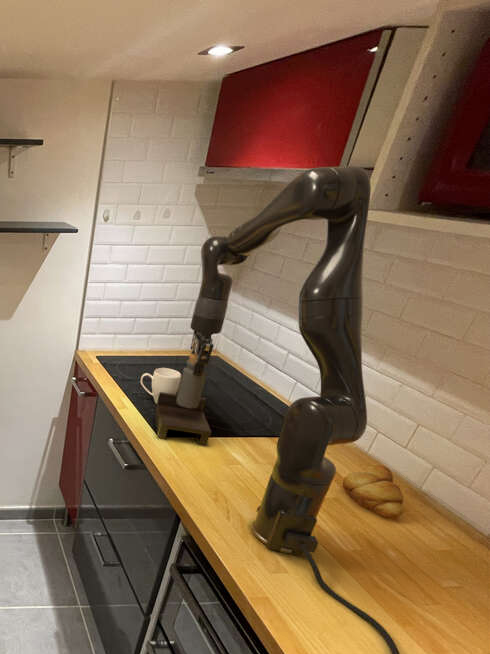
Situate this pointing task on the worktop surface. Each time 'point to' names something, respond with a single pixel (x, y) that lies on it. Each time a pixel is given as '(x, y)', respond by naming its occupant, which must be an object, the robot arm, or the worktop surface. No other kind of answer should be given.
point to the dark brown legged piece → (181, 418)
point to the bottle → (191, 385)
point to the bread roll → (375, 490)
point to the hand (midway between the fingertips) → (195, 370)
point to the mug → (163, 382)
